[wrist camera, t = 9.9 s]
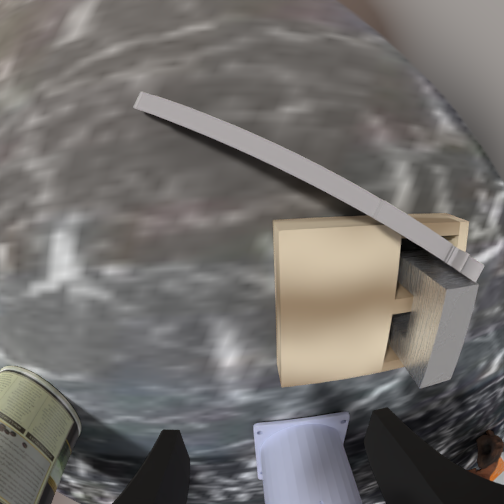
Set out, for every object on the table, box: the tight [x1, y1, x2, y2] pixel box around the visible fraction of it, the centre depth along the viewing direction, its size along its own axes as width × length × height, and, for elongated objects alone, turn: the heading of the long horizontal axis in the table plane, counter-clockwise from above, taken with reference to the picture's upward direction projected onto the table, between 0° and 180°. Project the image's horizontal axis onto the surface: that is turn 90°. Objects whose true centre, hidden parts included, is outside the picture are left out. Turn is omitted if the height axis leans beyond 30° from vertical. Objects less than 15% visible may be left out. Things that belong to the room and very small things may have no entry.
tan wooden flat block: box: [273, 213, 469, 387], centre depth 18 cm, size 10×12×2 cm
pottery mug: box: [467, 430, 504, 480], centre depth 26 cm, size 12×10×8 cm
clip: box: [388, 250, 479, 388], centre depth 17 cm, size 6×2×6 cm, turn 3°
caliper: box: [133, 92, 484, 283], centre depth 14 cm, size 20×1×6 cm, turn 65°
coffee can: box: [0, 366, 81, 504], centre depth 15 cm, size 10×10×14 cm
